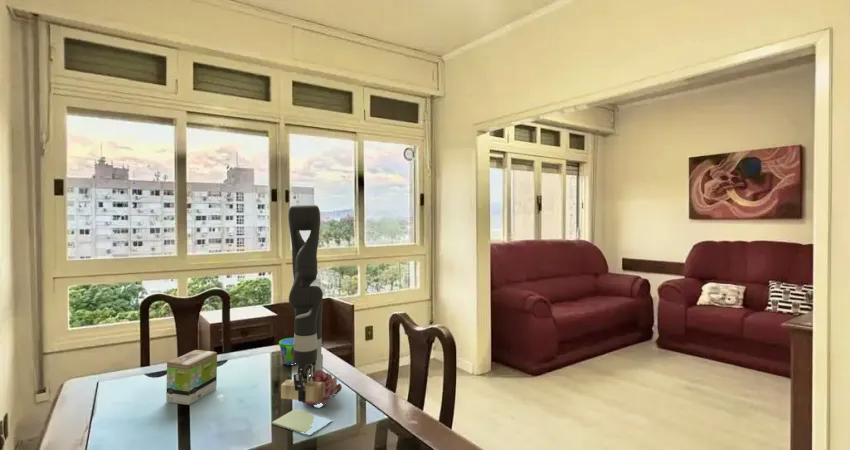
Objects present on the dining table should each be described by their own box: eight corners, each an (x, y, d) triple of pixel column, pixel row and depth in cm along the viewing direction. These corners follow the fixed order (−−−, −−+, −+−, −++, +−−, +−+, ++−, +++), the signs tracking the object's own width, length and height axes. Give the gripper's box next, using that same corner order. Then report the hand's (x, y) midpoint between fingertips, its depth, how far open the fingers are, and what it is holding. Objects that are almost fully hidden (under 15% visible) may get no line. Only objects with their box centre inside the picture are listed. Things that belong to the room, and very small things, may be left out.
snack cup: (284, 357, 212) (284, 335, 212) (307, 357, 212) (307, 335, 212) (274, 369, 197) (274, 346, 196) (298, 370, 197) (299, 346, 196)
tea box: (190, 405, 161) (190, 364, 160) (165, 402, 163) (165, 361, 162) (217, 388, 176) (217, 350, 175) (194, 385, 178) (194, 348, 177)
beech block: (287, 379, 153) (324, 382, 152) (286, 392, 154) (324, 395, 152) (281, 384, 149) (320, 388, 147) (281, 398, 149) (319, 402, 147)
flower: (295, 386, 173) (300, 364, 170) (334, 386, 178) (339, 365, 176) (298, 414, 160) (303, 391, 157) (339, 413, 165) (345, 391, 162)
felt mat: (295, 410, 160) (295, 408, 160) (332, 421, 153) (332, 419, 153) (271, 423, 150) (271, 422, 150) (310, 436, 143) (310, 434, 143)
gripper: (308, 354, 142) (307, 408, 143) (323, 340, 156) (323, 389, 157) (285, 353, 143) (284, 406, 144) (302, 339, 157) (302, 388, 158)
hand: (304, 397), depth 150 cm, fingers closed on beech block, 4 cm apart
